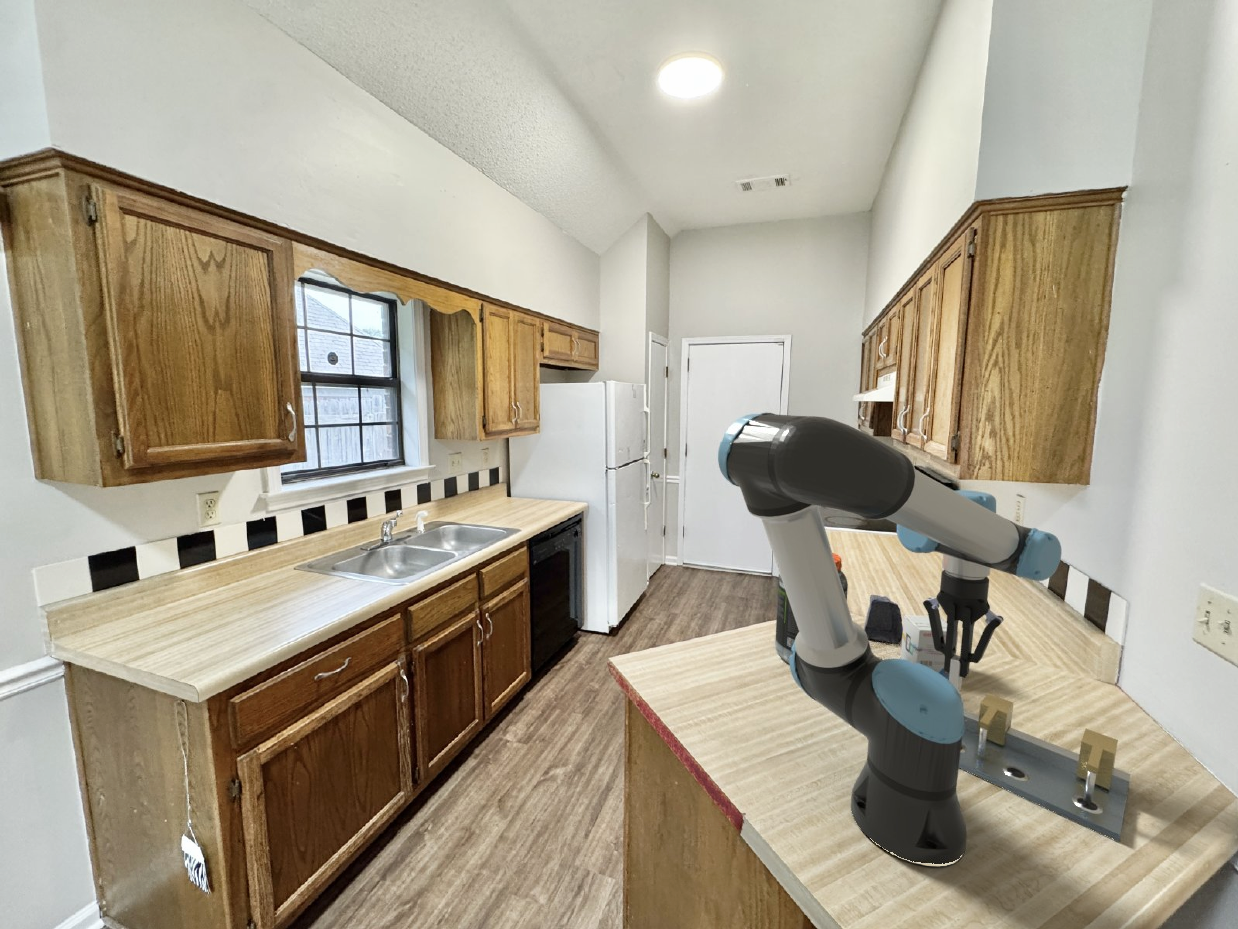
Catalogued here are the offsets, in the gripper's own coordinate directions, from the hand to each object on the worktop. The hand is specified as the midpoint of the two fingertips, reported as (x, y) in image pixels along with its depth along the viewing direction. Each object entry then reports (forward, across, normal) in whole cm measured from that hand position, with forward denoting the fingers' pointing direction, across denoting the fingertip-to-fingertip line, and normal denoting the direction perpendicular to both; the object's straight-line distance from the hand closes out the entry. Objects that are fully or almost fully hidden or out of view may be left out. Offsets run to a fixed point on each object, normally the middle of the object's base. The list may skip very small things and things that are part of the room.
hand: (954, 689), depth 101 cm
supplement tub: (+8, +32, -4) cm, 33 cm away
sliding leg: (+6, -7, +4) cm, 10 cm away
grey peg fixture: (+7, -12, +5) cm, 15 cm away
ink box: (+8, +10, -19) cm, 23 cm away
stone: (+8, +25, -29) cm, 39 cm away
